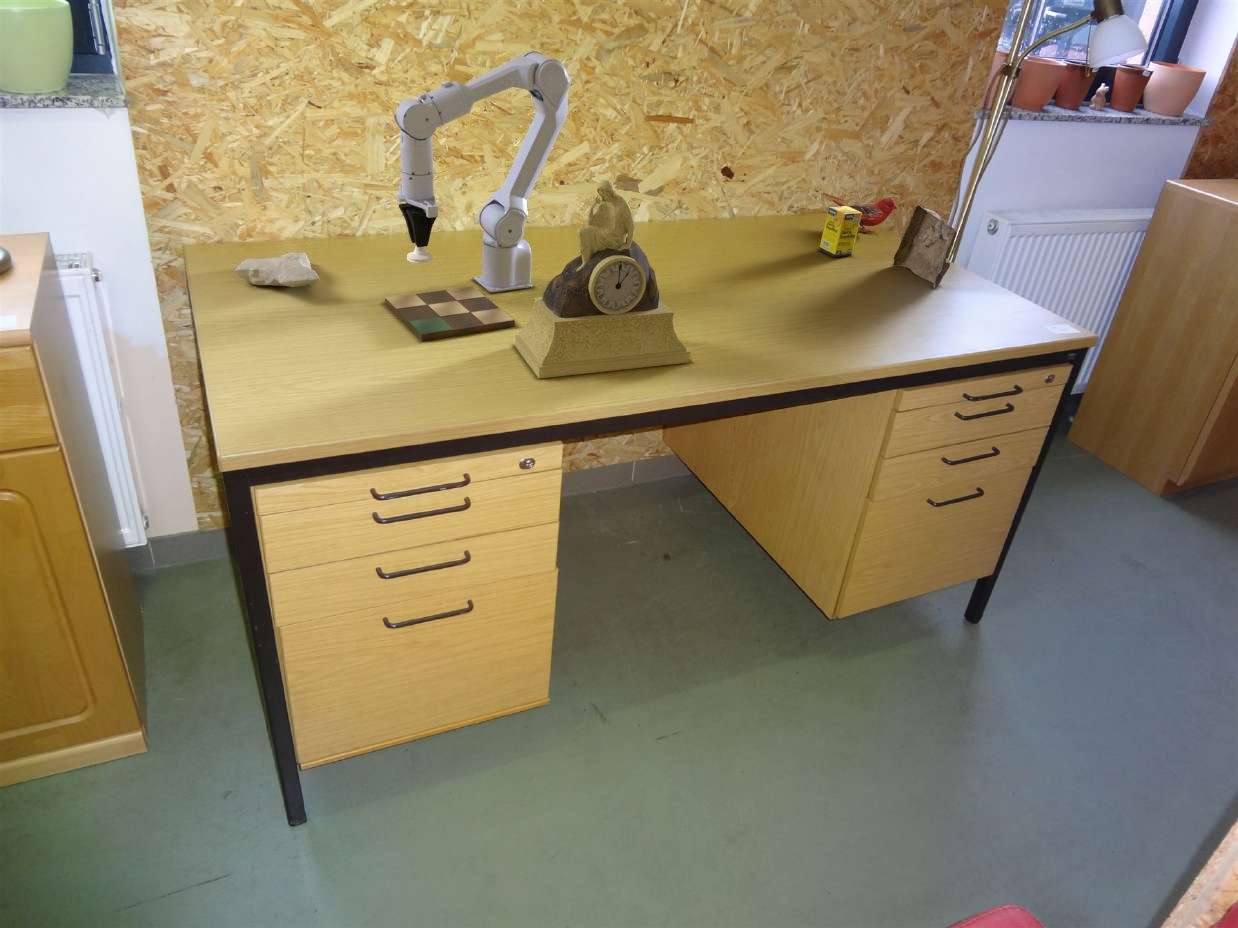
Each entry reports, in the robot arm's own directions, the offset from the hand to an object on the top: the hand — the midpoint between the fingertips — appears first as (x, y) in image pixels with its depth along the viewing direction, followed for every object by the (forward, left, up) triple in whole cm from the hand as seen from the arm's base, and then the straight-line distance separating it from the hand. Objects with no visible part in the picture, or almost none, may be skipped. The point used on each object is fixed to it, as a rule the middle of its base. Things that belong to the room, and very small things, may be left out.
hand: (419, 244), depth 164 cm
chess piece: (0, 0, -3) cm, 3 cm away
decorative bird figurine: (-127, -3, -10) cm, 128 cm away
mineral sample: (-113, +30, -10) cm, 118 cm away
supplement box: (-105, +10, -10) cm, 106 cm away
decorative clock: (-18, +38, -10) cm, 43 cm away
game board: (0, +13, -10) cm, 16 cm away
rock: (+24, -13, -10) cm, 29 cm away
